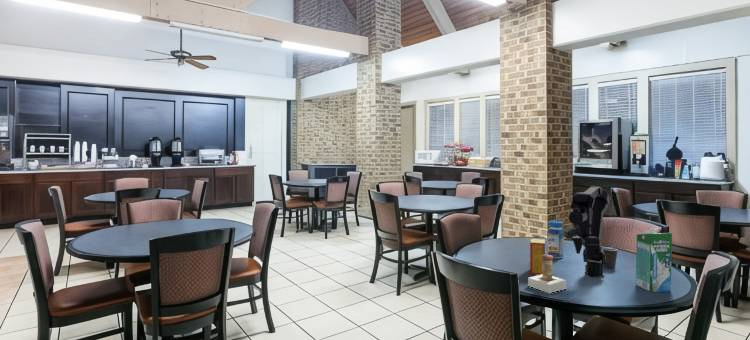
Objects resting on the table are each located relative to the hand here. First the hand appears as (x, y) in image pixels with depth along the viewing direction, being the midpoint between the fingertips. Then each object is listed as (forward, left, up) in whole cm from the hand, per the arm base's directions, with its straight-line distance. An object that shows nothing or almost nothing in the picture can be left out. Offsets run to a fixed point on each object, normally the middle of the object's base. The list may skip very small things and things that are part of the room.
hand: (582, 256), depth 180 cm
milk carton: (-28, +4, -13) cm, 31 cm away
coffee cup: (-26, -28, -13) cm, 40 cm away
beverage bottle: (-7, -48, -13) cm, 50 cm away
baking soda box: (+13, -19, -13) cm, 26 cm away
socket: (+17, +4, -13) cm, 22 cm away
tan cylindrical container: (+17, +4, -13) cm, 22 cm away
